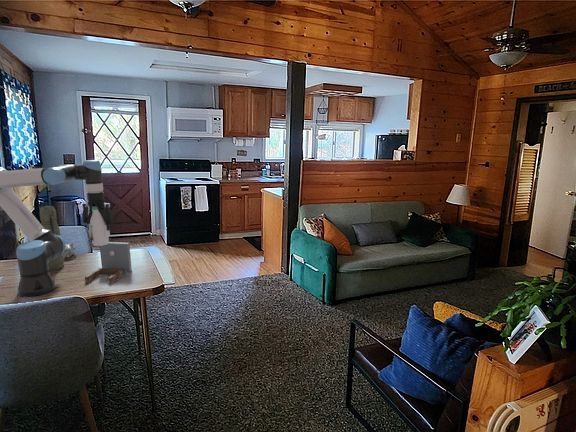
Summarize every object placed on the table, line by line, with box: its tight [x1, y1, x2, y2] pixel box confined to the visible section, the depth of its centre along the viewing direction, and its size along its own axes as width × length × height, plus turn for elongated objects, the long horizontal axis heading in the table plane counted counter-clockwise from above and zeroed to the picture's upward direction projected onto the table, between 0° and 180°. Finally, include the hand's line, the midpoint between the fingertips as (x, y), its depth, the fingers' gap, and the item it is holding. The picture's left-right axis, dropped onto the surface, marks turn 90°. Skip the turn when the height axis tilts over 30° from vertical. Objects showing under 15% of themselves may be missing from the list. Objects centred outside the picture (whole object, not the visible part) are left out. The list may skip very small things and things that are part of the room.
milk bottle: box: [90, 206, 110, 247], centre depth 191 cm, size 8×8×20 cm
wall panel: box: [99, 241, 133, 273], centre depth 206 cm, size 4×16×16 cm, turn 84°
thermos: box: [39, 205, 65, 271], centre depth 210 cm, size 9×12×35 cm
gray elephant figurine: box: [63, 242, 78, 260], centre depth 232 cm, size 9×12×8 cm
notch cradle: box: [84, 267, 125, 285], centre depth 198 cm, size 12×14×3 cm
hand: (100, 236), depth 193 cm, fingers closed on milk bottle, 8 cm apart
